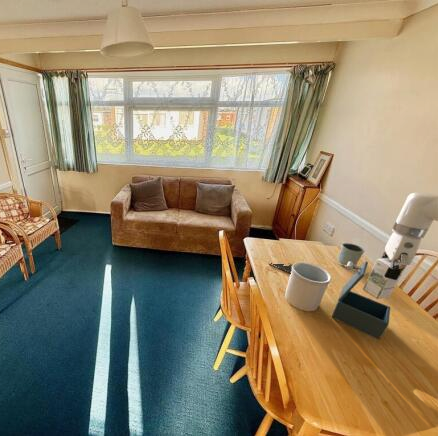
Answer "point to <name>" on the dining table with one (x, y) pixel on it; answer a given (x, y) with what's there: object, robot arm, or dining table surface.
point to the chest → (363, 314)
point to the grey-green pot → (350, 253)
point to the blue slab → (353, 278)
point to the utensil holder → (306, 286)
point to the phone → (284, 267)
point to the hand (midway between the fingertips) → (387, 271)
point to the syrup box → (381, 280)
